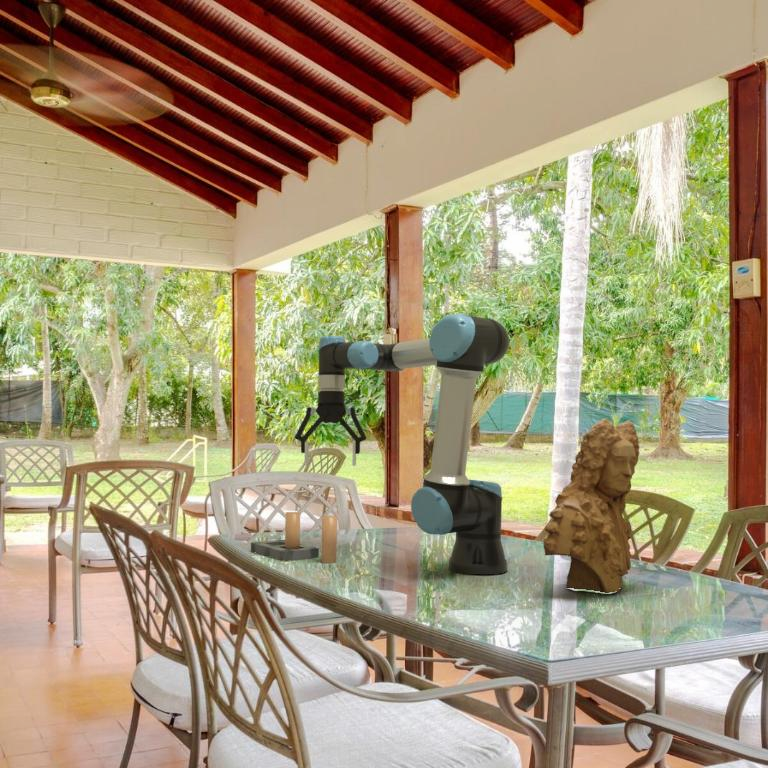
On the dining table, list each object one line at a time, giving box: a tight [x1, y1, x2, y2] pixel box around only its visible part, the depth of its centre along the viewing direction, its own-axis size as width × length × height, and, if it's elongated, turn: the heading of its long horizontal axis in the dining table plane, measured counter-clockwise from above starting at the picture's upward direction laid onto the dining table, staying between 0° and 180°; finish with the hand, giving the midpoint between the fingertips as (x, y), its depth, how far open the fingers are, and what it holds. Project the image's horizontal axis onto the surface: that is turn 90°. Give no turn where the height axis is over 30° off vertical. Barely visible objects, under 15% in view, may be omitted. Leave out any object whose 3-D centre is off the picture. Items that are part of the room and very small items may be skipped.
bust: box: [543, 417, 640, 593], centre depth 203 cm, size 34×18×40 cm, turn 149°
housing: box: [250, 539, 320, 562], centre depth 241 cm, size 18×11×2 cm, turn 38°
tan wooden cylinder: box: [284, 511, 301, 550], centre depth 238 cm, size 4×4×12 cm
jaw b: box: [320, 515, 338, 564], centre depth 231 cm, size 4×4×12 cm
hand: (330, 465), depth 245 cm, fingers open, 13 cm apart
